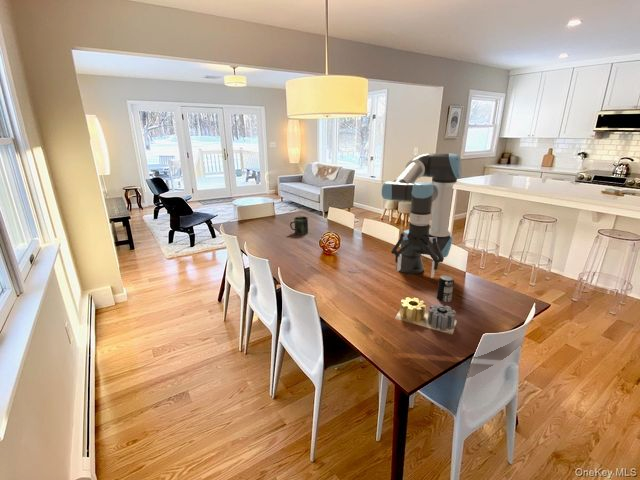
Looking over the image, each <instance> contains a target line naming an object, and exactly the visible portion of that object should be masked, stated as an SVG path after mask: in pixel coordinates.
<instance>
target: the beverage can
mask: <svg viewBox="0 0 640 480" xmlns="http://www.w3.org/2000/svg"><path fill="white" fill-rule="evenodd" d="M454 285H455V280H454V277H453V276H452V275H450V274H441V275H440V276H439V279H438V285H437V294H436V299H437V300H438V301H441V302H445V303H447V302H448V303H450V302H452V301H453V292H454Z"/></svg>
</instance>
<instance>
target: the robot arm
mask: <svg viewBox="0 0 640 480" xmlns="http://www.w3.org/2000/svg"><path fill="white" fill-rule="evenodd" d="M461 176H462V158H461V156H460V155H459V154H456V153H431V152H430V153H423V154H420V155H417V156H415V157H413V158H412V159H411V160H409V161H408V162H407V163H406V165H405V168H404V169H403V170H402V171H401V172H400V173H399V175H398V176H397V177H396V178H395V179H394V180H393V181H385V182H383V184H382V185H381V186H382V187H381V197H382V199H384V200H387V201H388V200H389V201H396V202H397V201H400V202H408V203H410V213H409V215H410V216H409V228H408V229H404V231H402V232H401V233H400V235H399V239H398V241H397V242H396V244H395V245H394V247H393V248H392V250H391V251H390V252H391V254H392V255H394V256H395V259H394V261H395V263H396V264H395V268H396V271H397V272H400V273H403V274H409V275H416V274H417V275H418V274H420V273H422V272H423V271H424V263H423V260H422V255H426V256H429V257H430V258H431V259H432V260H433V261H432V263H431V272H430V278H431V279H434V276H435V271H437V270H438V268H439V263H443V262H444V260H445V258H447V257H448V255H449V254H450V250H451V247H452V245H453V240H454V239H453V238H454V237H453V236H451V231H449V222H450V215H451V206H452V196H453V188H454V185H455V184H456V183H457V181H458V180H459V179H460V178H461ZM423 177H424V178H431V179H432V180H431V181H432V182H427V181H425V182H423V181H418V182H417V180H418V179H420V178H423ZM399 247H400V249H399V250H398V248H399Z"/></svg>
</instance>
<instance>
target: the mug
mask: <svg viewBox="0 0 640 480" xmlns="http://www.w3.org/2000/svg"><path fill="white" fill-rule="evenodd" d="M308 220H309V217H308V216H305V215H304V216H295V217H294V218H293V221H290V223H289V224H290V225H289V227H290V229H291V230H292V231H294V233H295V235H301V234H302V235H306V234H308V233H309V223H308ZM292 224H294V228H293V226H292Z"/></svg>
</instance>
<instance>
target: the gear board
mask: <svg viewBox="0 0 640 480" xmlns="http://www.w3.org/2000/svg"><path fill="white" fill-rule="evenodd" d="M394 319H395V320H399V321H402V322H407V323H410V324H413V325H417V326H420V327H423V328H427V329H432V330H434V331H438V332H442V333H445V334H449V335H453V334H454V331H455V328H456V325H457V322H458V320H456V319H455V322H454V326H453V329H451V330H449V329H446V331H441V330H440V328H436V329H434V328H433V327H431V324H428V312H427V311H425V318H424V320H422V319H421V322H417V323H416V322H415V321H412V322H409V321H407V319H406V318H404V319H403V318H402V317H401V314H400V310H399V311H398V312H397V314H396V316H395V317H394Z"/></svg>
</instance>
